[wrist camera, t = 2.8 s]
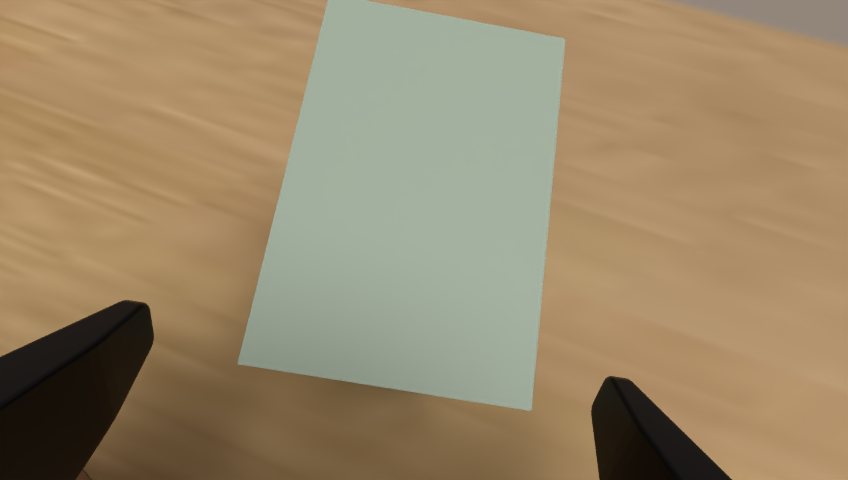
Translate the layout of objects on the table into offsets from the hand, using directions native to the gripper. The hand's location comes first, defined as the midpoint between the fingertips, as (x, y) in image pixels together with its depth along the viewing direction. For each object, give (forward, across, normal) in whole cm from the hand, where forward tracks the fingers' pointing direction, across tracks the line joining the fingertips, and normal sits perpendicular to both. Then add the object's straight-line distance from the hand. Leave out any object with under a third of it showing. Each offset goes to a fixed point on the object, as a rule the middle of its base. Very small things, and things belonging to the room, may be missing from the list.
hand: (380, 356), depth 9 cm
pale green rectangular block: (+9, 0, +5) cm, 10 cm away
